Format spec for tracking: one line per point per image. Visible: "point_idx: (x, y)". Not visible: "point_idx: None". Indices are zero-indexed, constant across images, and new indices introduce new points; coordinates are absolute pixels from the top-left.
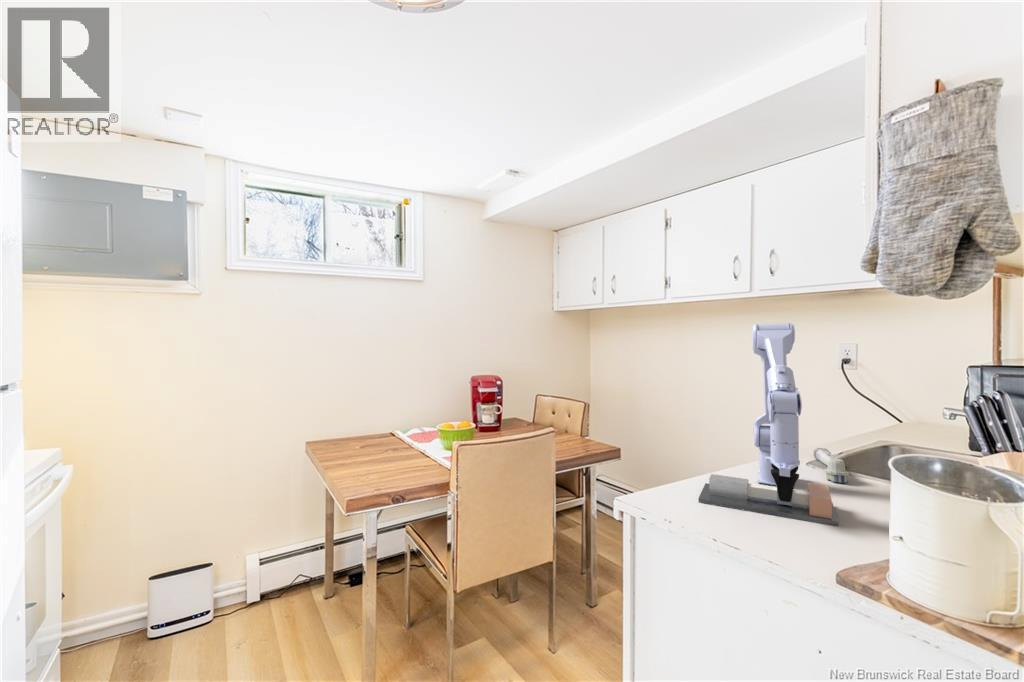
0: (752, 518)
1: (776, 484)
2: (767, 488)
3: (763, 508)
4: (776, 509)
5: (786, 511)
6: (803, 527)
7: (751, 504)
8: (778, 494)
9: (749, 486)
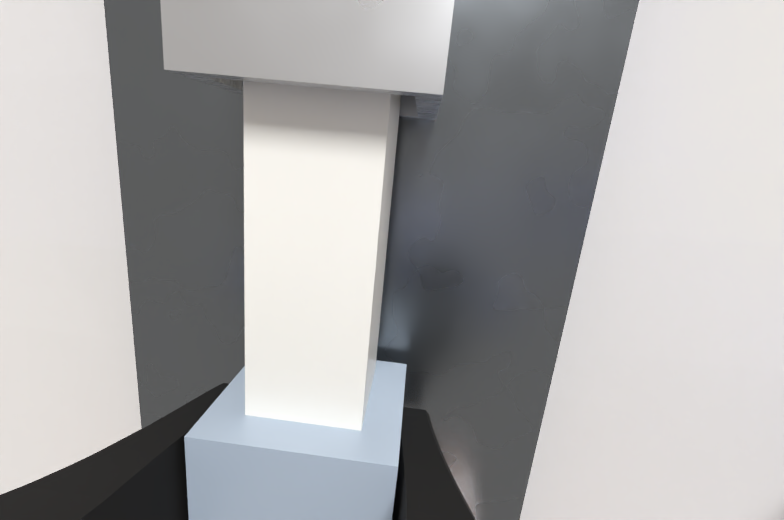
0: (7, 138)
1: (36, 482)
2: (275, 329)
3: (138, 231)
4: (166, 323)
5: (164, 381)
6: (54, 422)
7: (178, 139)
8: (183, 406)
9: (251, 115)
